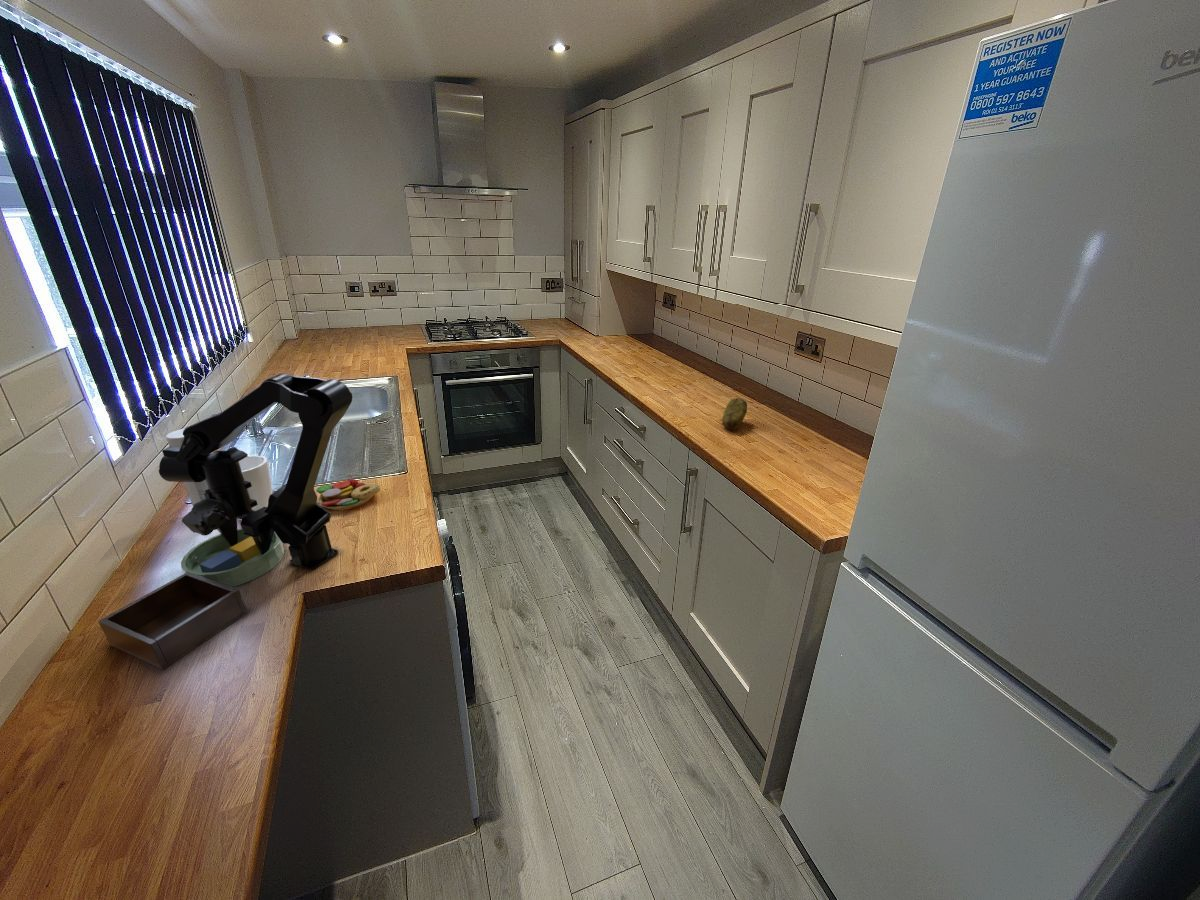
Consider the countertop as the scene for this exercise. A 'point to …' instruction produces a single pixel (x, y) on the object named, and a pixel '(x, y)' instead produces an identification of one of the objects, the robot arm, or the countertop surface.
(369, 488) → the toy food set
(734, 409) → the olive green oval lump
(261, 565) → the bowl
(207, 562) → the blue gray block
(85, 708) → the countertop surface
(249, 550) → the yellow block
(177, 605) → the holder
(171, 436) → the spray can
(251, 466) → the foam cup
